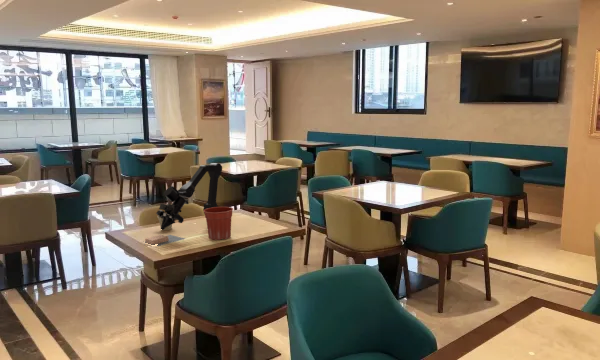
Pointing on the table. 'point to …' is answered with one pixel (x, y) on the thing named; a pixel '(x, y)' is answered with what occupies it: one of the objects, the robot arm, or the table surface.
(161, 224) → the flower pot
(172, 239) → the mat
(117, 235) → the table surface
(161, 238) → the salmon rectangular block
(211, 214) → the flower pot
